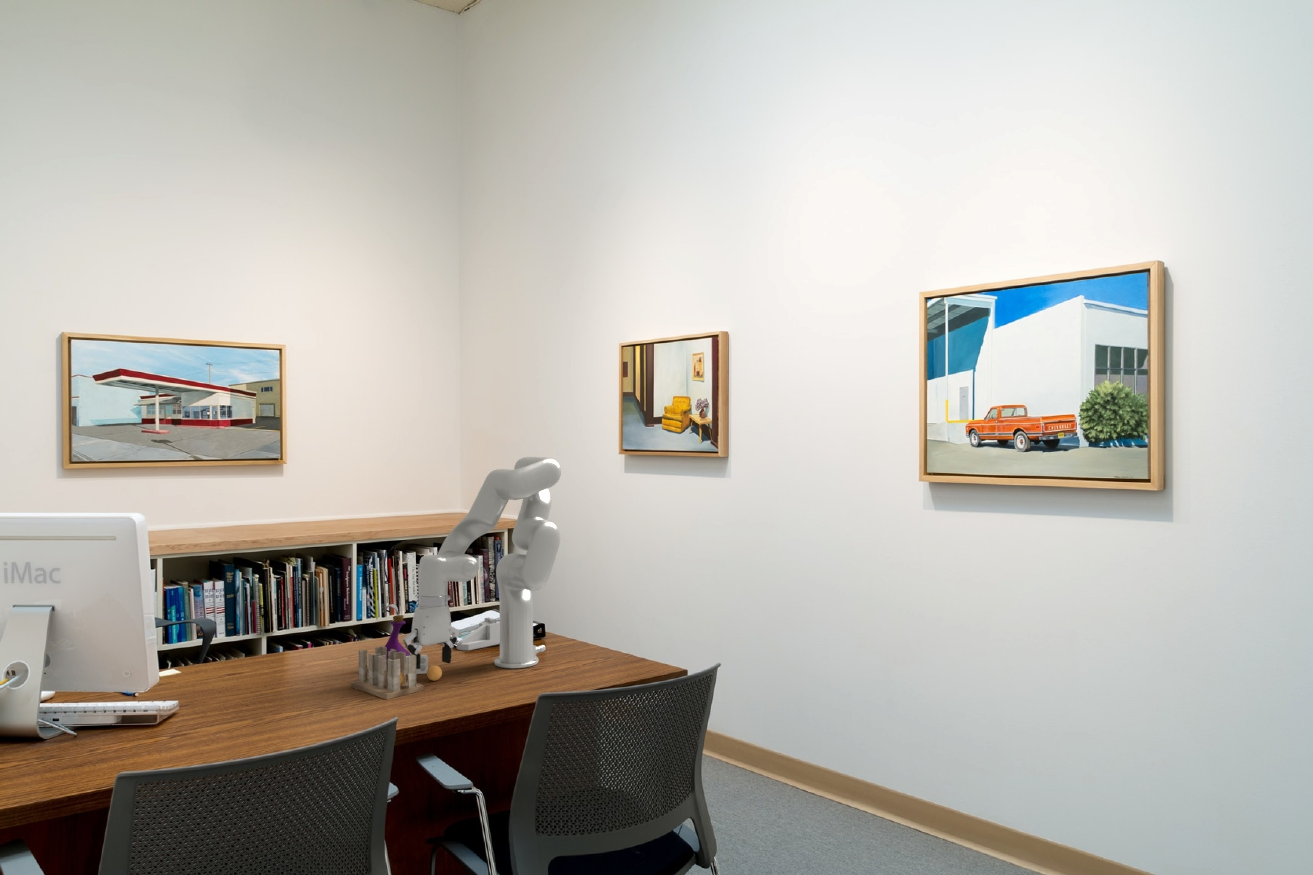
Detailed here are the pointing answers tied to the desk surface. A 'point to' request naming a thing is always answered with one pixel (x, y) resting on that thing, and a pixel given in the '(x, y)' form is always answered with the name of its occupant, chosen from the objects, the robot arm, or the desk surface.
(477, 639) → the sloped support bracket
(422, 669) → the card
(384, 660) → the ball rack
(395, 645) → the purple potion bottle
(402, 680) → the seated orange ball
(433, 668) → the orange ball
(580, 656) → the desk surface
